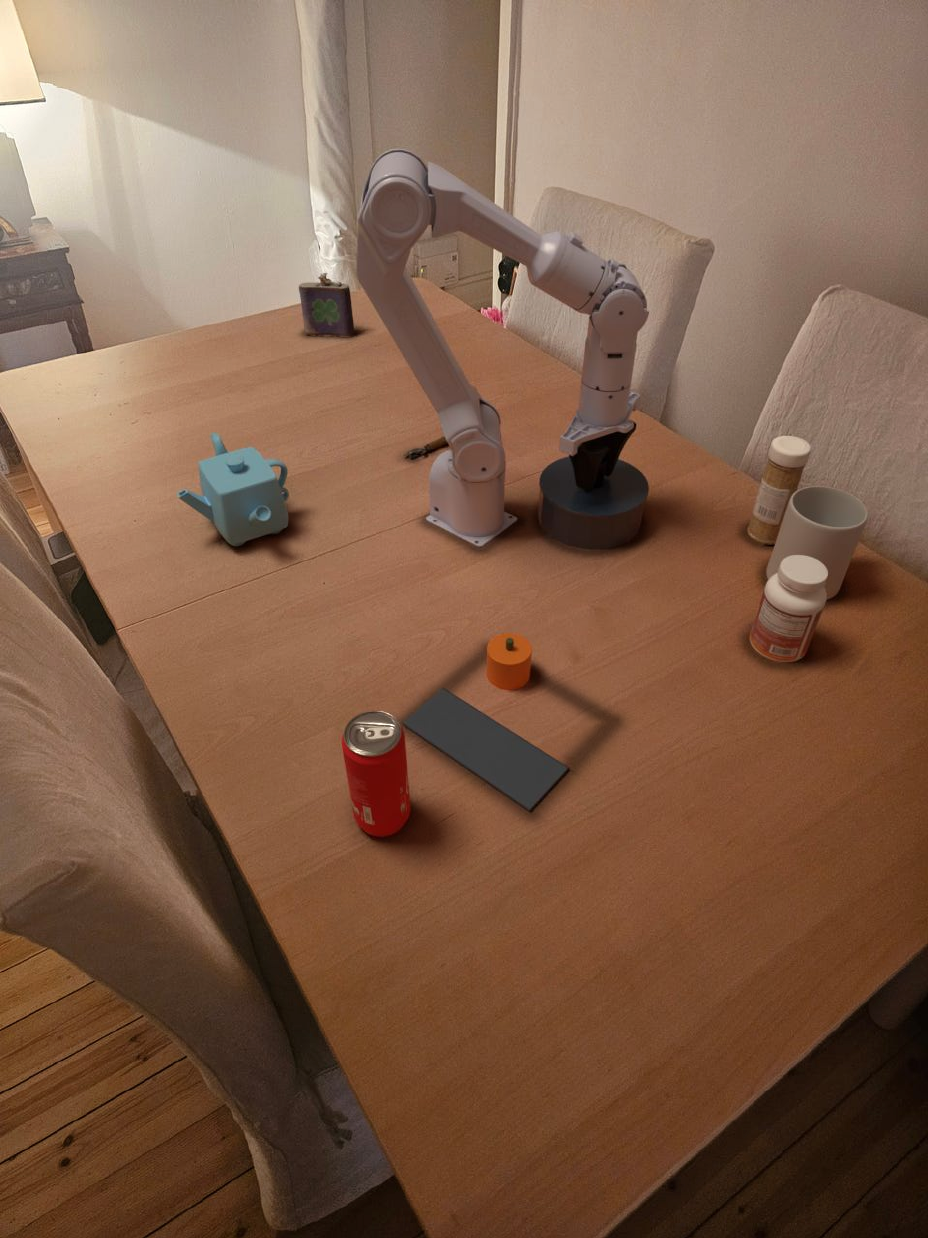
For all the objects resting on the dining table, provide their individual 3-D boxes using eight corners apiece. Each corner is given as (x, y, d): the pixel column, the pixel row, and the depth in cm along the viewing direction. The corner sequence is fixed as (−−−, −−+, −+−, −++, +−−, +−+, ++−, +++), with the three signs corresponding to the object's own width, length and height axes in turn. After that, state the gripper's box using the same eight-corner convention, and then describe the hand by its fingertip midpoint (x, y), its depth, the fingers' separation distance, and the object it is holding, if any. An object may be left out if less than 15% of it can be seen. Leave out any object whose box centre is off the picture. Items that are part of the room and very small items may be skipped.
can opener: (452, 437, 123) (452, 430, 123) (461, 444, 122) (461, 437, 121) (400, 455, 120) (400, 448, 119) (408, 462, 119) (408, 455, 118)
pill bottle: (779, 620, 94) (806, 543, 86) (818, 654, 90) (850, 577, 82) (736, 636, 92) (760, 559, 84) (773, 672, 88) (802, 595, 80)
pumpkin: (477, 676, 87) (478, 641, 84) (504, 653, 90) (506, 618, 86) (512, 697, 85) (514, 662, 81) (538, 672, 88) (541, 638, 84)
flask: (303, 335, 150) (295, 276, 143) (307, 329, 152) (299, 269, 145) (353, 338, 149) (347, 278, 142) (356, 331, 152) (351, 272, 144)
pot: (518, 525, 108) (520, 489, 104) (575, 482, 115) (579, 447, 111) (603, 566, 101) (608, 530, 98) (658, 517, 109) (665, 482, 105)
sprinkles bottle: (789, 538, 105) (820, 446, 96) (765, 550, 103) (794, 458, 94) (762, 520, 108) (789, 430, 99) (738, 532, 106) (763, 440, 97)
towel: (402, 725, 83) (402, 722, 83) (489, 649, 91) (489, 647, 90) (529, 812, 75) (529, 809, 75) (612, 721, 83) (613, 719, 83)
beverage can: (354, 794, 77) (341, 710, 69) (410, 790, 77) (403, 706, 69) (353, 843, 73) (339, 760, 65) (412, 838, 73) (405, 755, 65)
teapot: (320, 545, 104) (310, 478, 98) (213, 582, 99) (194, 514, 92) (269, 478, 116) (256, 413, 109) (170, 508, 111) (151, 442, 104)
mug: (807, 614, 95) (836, 538, 87) (750, 575, 100) (773, 500, 92) (872, 577, 100) (905, 502, 92) (814, 541, 105) (841, 467, 97)
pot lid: (517, 494, 104) (518, 462, 101) (578, 449, 112) (582, 419, 109) (609, 536, 98) (613, 504, 94) (667, 486, 105) (674, 455, 102)
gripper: (600, 415, 89) (588, 518, 98) (668, 368, 97) (651, 467, 106) (547, 395, 92) (540, 496, 101) (617, 351, 100) (604, 448, 109)
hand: (593, 480), depth 104 cm, fingers open, 4 cm apart
